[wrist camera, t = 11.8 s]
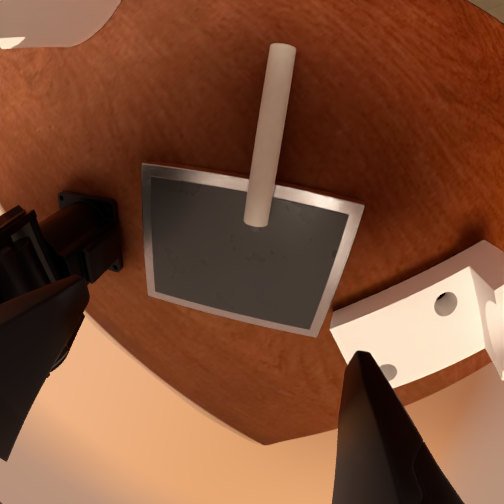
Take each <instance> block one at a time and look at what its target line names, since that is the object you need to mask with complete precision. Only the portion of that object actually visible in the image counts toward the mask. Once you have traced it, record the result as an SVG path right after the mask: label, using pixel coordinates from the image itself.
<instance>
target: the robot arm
mask: <svg viewBox="0 0 504 504" xmlns="http://www.w3.org/2000/svg"><path fill="white" fill-rule="evenodd" d="M58 200H59V208H60V210H59V211H58V212H56V213H55V214H53V215H51V216H50V217H48V218H47V219H45V220H44V221H42V222H40V223H39V224H38V221H37V219H36V217H37V215H36V213H35V210H31V211H29V212H26V211H25V210H23V209H22V208H21V207H20V206H19V205H18V206H16V207H14V208H12V209H11V210H9V211H7V212H6V213H4V214H3V215H1V216H0V458H1V459H3V460H4V461H7V460H8V458H9V455H10V453H11V450H12V448H13V446H14V443H15V441H16V439H17V436H18V434H19V432H20V430H21V428H22V425H23V423H24V421H25V419H26V417H27V414H28V412H29V410H30V408H31V406H32V404H33V402H34V400H35V398H36V396H37V395H38V393H39V391H40V389H41V387H42V385H43V383H44V382H45V380H46V378H48V377H49V376H50V372H52V371H53V370H55V369H56V368H57V367H58V366H59V365H60V364H62V362H63V361H64V360H65V358H66V357H67V355H68V353H69V350H70V348H71V346H72V343H73V341H74V339H75V337H76V335H77V332H78V330H79V328H80V326H81V324H82V322H83V319H84V317H85V315H84V314H83V312H84V310H85V308H86V306H87V304H88V302H89V298H90V296H89V291H88V287H87V285H88V284H89V283H91V284H93V283H94V282H95V281H96V280H97V279H98V278H99V277H100V276H101V275H102V274H103V273H104V272H105V271H106V270H107V269H108V270H111V271H114V272H120V270H121V269H122V268H123V265H122V258H121V248H120V238H119V229H118V218H117V205H116V202H115V201H114V200H113V199H109V198H104V197H98V196H92V195H86V194H80V193H74V192H68V191H62V192H60V193H59V194H58ZM109 204H110V205H111V207H110V206H109ZM0 504H2V503H1V502H0ZM332 504H464V502H463V501H462V500H461V498H460V497H459V495H458V494H457V493H456V491H455V490H454V488H453V487H452V485H451V484H450V482H449V481H448V479H447V478H446V477H445V475H444V474H443V472H442V471H441V469H440V467H439V466H438V465H437V463H436V461H435V459H434V458H433V456H432V454H431V453H430V451H429V449H428V448H427V446H426V444H425V442H423V439H422V437H421V435H420V434H419V432H418V430H417V428H416V427H415V425H414V423H413V421H412V420H411V418H410V416H409V415H408V413H407V411H406V410H405V408H404V406H403V405H402V403H401V401H400V400H399V398H398V396H397V395H396V393H395V391H394V390H393V388H392V386H391V385H390V383H389V382H388V380H387V378H386V377H385V375H384V374H383V372H382V370H381V369H380V367H379V366H378V364H377V362H376V361H375V359H374V358H373V356H372V354H371V353H370V352H367V351H361V350H358V351H356V352H355V353H354V355H353V357H352V358H351V360H350V362H349V363H348V365H347V367H346V370H345V374H344V382H343V390H342V397H341V404H340V411H339V421H338V440H337V457H336V470H335V480H334V490H333V499H332Z"/></svg>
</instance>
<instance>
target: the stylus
mask: <svg viewBox="0 0 504 504" xmlns="http://www.w3.org/2000/svg"><path fill="white" fill-rule="evenodd" d="M295 55H296V48H295V47H293V46H291V45H288V44H282V43H274V44H271V45H270V50H269V56H268V62H267V68H266V74H265V81H264V87H263V93H262V99H261V106H260V112H259V119H258V125H257V132H256V138H255V145H254V151H253V158H252V165H251V171H250V178H249V185H248V192H247V199H246V206H245V213H244V220H243V221H244V223H246V224H248V229H249V230H251V231H255V232H259V231H261V230H262V227H265V226H267V225H268V220H269V214H270V208H271V202H272V196H273V191H274V185H275V179H276V173H277V167H278V161H279V155H280V149H281V143H282V137H283V131H284V125H285V118H286V112H287V106H288V100H289V93H290V87H291V81H292V75H293V68H294V62H295Z"/></svg>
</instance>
